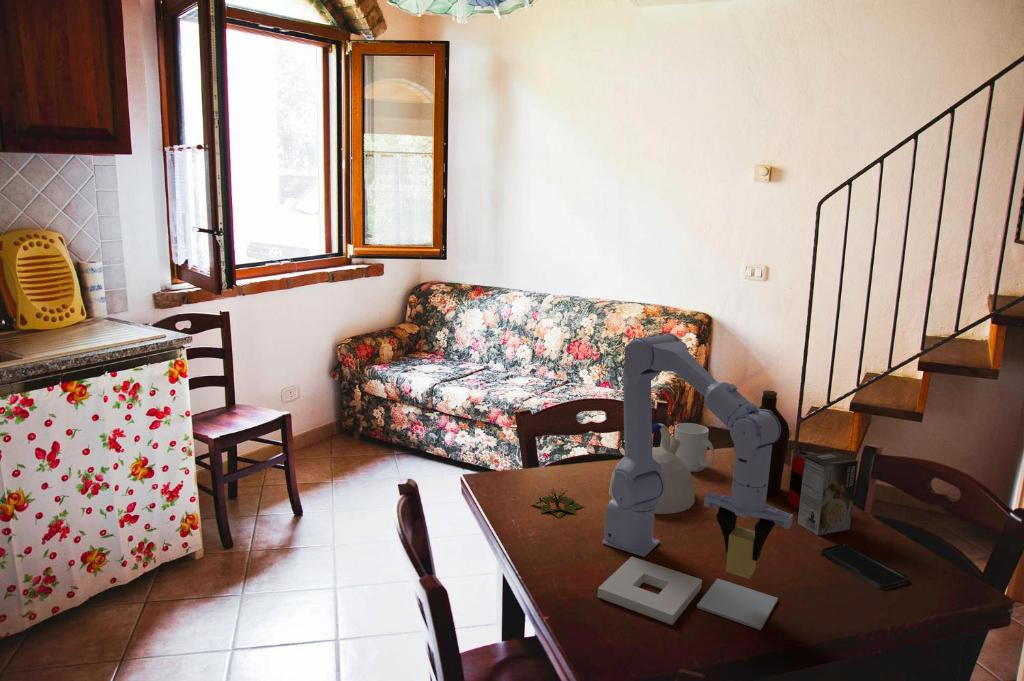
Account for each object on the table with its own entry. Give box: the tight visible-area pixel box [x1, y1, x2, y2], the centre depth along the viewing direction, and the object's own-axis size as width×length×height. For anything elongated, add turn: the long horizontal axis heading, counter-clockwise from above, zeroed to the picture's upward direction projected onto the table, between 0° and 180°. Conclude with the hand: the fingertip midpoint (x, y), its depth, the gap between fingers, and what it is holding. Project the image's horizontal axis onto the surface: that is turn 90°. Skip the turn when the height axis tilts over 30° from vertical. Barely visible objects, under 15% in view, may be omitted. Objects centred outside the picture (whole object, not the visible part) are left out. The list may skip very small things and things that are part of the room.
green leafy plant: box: [535, 487, 586, 519], centre depth 163 cm, size 12×12×5 cm
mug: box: [673, 422, 715, 473], centre depth 188 cm, size 9×12×11 cm
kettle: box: [608, 423, 696, 515], centre depth 169 cm, size 20×21×18 cm
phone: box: [819, 543, 909, 591], centre depth 141 cm, size 8×1×15 cm
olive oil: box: [758, 389, 790, 498], centre depth 174 cm, size 11×11×25 cm
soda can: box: [787, 451, 817, 509], centre depth 168 cm, size 8×8×12 cm
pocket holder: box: [597, 556, 703, 626], centre depth 129 cm, size 14×14×2 cm
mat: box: [696, 577, 779, 631], centre depth 127 cm, size 11×11×1 cm
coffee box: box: [797, 451, 859, 536], centre depth 156 cm, size 9×6×16 cm
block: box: [725, 525, 757, 580], centre depth 124 cm, size 4×4×7 cm
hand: (742, 554), depth 125 cm, fingers closed on block, 4 cm apart
